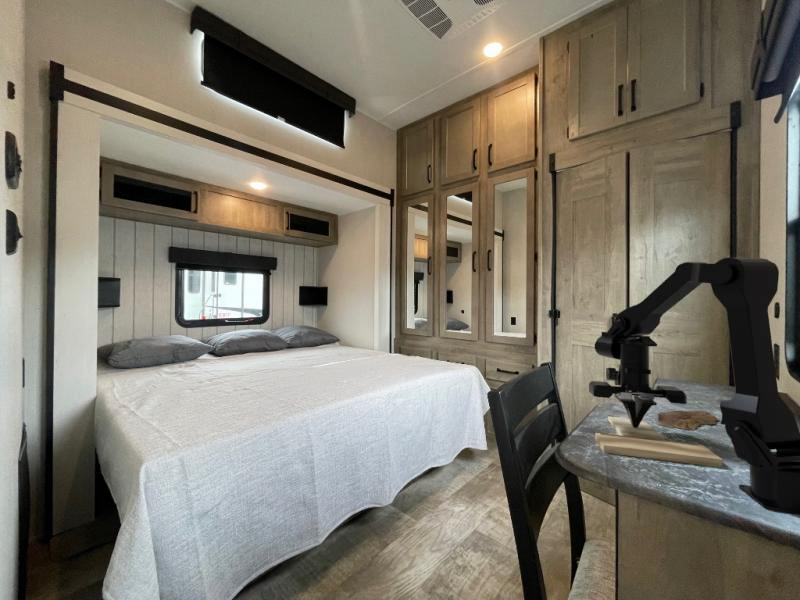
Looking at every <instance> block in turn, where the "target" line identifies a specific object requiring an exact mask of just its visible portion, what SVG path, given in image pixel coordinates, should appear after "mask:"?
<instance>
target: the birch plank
mask: <svg viewBox="0 0 800 600" xmlns="http://www.w3.org/2000/svg"><path fill="white" fill-rule="evenodd" d="M608 421H609V422H610V423H611V425H612V426H613V427H612V426H611V425H610V426H611V427H612V429H613V428H614V429H615V430H616V431H615V430H614V429H613V430H614V431H615V432H616V433H617V435H621V436H630V437H639V438H648V439H657V440H666V441H667V438H665V437H664V436H663V435H662V434H660V433H659V432H658V431H657V429H655V428H654V427H653V426H652V425H650V424H649V423H648V422H647V421H645V420H644V419H642V421H641V422H640V424H639V426H638V428H634V427H633V426H632V424H631V422H630V419H629V417H619V416H609V415H608V416H607V422H608Z"/></svg>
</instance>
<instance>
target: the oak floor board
mask: <svg viewBox="0 0 800 600" xmlns="http://www.w3.org/2000/svg"><path fill="white" fill-rule="evenodd" d="M595 441H596V442H597V445H598V446H599V447H600V449H601V450H602V453H604V454H605V453H606V454H613V455H620V456H621V455H622V456H629V457H637V458H643V459H644V458H645V459H654V460H659V461H660V460H661V461H668V462H676V463H684V464H692V465H698V466H706V467H707V466H708V467H715V468H716V467H717V468H723V458H721V457H720V456H719V455H716V454H715V453H714V452H713V451H711V450H710V449H709V448H707V447H706V446H705V445H703V444H701V443H700V444H699V443H692V442H682V441H674V440H673V441H672V440H667V439H666V440H657V439H648V438H639V437H630V436H621V435H619V434H612V433H604V432H603V433H602V432H600V433H599V432H595Z"/></svg>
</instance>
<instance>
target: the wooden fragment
mask: <svg viewBox="0 0 800 600" xmlns="http://www.w3.org/2000/svg"><path fill="white" fill-rule="evenodd" d="M657 417H658V422H657V423H658V424H657V426H659V427H666V428H668V429H669V428H670V429H677V430H682V431H691V432H695V431H696V430H697V428H701V427H702V426H703V425H706V426H711V425H717V422H721V420H720V419H719V418H717V417H716V416H715V415H713V414H710V412H709V411H707V410H675V411H672V410H671V411H666V412H665V411H663V412H660V413H658V416H657Z"/></svg>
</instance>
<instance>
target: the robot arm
mask: <svg viewBox="0 0 800 600" xmlns="http://www.w3.org/2000/svg"><path fill="white" fill-rule="evenodd" d="M779 271H780V270H779V267H778V266H777V264H776V263H775V262H772V261H770V260H769V259H768V258H767V259H766V258H762V257H723V258H722V259H719V260H717V261H716V262H715V263H707V262H705V261H704V262H701V261H686V262H683V263H680V264H678V265H677V266H676V268H675V269H674V272H673V273H671V274H670V275H668V277H667V278H666V279H665V280H664V281H662V282H661V284H659V286H657V287H656V288H655V289H653V291H651V293H649V294H648V295H647V296H646V297H645V298H644V299H643V300H642V301H641V302H639V303H637V304H634V305H632V306H629V307H626V308H625V309H623V310H622V311H620V312H618V313H617V314H616V316H615V319H614V321H613V322H612V324H611V325H610V328H609V329H608V330H607V331H601V336H599V337H598V338H597V339H596V341H595V343H594V350H595V352H596V353H597V354H598V355H599V356H601V357H606V358H610V359H615V360H619V361H620V363H619V366H618V370H617V369H616V368H615V367H606V369H605V377H606V378H605V379H606V380H607V381H612V382H614V385H611V384H609V382H607V381H600V380H599V381H597V380H590V382H589V383H588V391H589V393H590V394H591V395H592V396H593V397H594V398H595V397H596V398H605V399H609V398H611V397H612V396H613V395H614V398H615V399H617V400H618V401H619V402H620V403H622V404H623V407H624V409H625V410H626V414H627V416H628V418H629V419H630V422H631V424H632V426H633V427H634V428H638V426H639V424H640V422H641V421H642V420H644V417H645V415H646V414H647V413H648V411H649V410H650V409H651V408H652V406H657V405H658V403H657V402H656V401H655V398H661V399H662V398H663V399H666V400H667V401H668V402H669V403H671V404H680V405H686V404H687V402H688V397H687V394H686V392H685V391H684V390H682V389H679V388H678V387H677V386H674V385H673V386H672V385H670V386H669V385H657V386H656V387H655V388H652V387H651V386H650V375H651V374H652V370H651V369H650V347H651V348H652V347H657V346H658V343H657V342H656V341H654V340H653V339H652V338H651V337H650V336H649V335H651V334H652V333H653V332H654V331H655V330H656V329H657V327H658V326H659V325H660V323H661V318H662V317H663V316H664V315H665V314H666V313H667V312H668V311H669V310H670V309H672V308H673V307H675V306H676V305H677V304H678V303H680V301H682V300H683V299H684V298H685V297H687V296H688V295H689V294H690V293H692V292H693V291H694V290H696V288H698V287H699V286H700V285H702V284H710V287H711V290H712V294H713V295H714V297H715V298H716V299H717V300H718V301H719V303H720V305H722V306H723V308H725V311H726V318H727V319H726V320H727V327H728V335H729V346H730V353H731V354H730V355H731V362H732V370H733V371H732V372H733V381H734V387H735V390H734V394H733V396H732V398H731V399H729V400H725V399H724V400H723V399H722V400H720V402H719V408H720V412H721V420H720V424H721V426H722V425H723V426H724V429H725V433H726V434H727V436H728V437H729V438H730V441H731V444H732V446H733V449H734V452H735V455H736V457H737V458H738V459H740V460H742V461H745V462H746V463H747V464H748V465H749V485H745V484H738V489H740V490H741V491H742V492H744V493H745V494H746V495H747V496H749V498H752V500H753V501H755V502H756V503H757V504H759V505H760V506H761V507H762V508H764V509H766V510H770V511H771V510H772V511H776V512H777V511H778V512H783V513H791V514H797V515H800V429H799V427H798V424H797V420H796V417H795V414H794V412H793V411H792V410H791V408H790V407H789V406H788V405H787V403H785V401H784V399H782V397H781V396H780V393H779V389H778V388H779V387H778V381H777V379H778V378H777V374H776V364H775V358H774V357H775V356H774V348H773V342H772V341H773V340H772V334H771V333H772V332H771V325H770V318H769V306H770V305H771V302H772V301H773V299H774V298H775V295H777V293H778V291H779V290H778V288H779V287H778V286H779V277H780V274H779V273H780V272H779ZM633 398H634V399H633ZM772 450H775V451H772Z"/></svg>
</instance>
